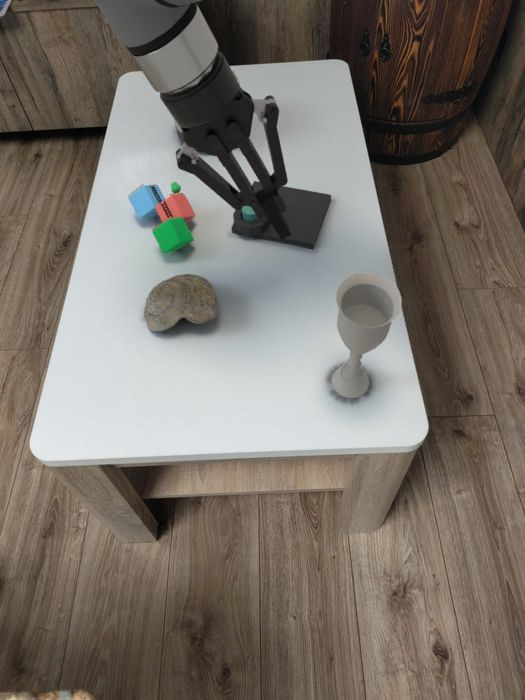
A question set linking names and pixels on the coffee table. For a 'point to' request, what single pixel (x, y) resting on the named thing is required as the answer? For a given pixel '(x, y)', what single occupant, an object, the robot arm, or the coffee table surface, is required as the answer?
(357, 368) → the chalice
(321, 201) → the scale
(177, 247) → the building blocks
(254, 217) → the button
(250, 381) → the coffee table surface
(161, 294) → the fossilized seashell
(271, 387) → the coffee table surface
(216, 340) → the coffee table surface
